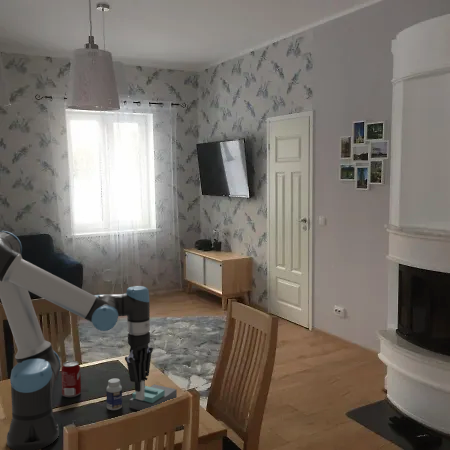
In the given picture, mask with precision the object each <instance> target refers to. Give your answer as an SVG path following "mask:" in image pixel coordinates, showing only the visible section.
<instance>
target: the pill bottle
mask: <svg viewBox="0 0 450 450" xmlns="http://www.w3.org/2000/svg"><path fill="white" fill-rule="evenodd" d="M107 383H108V384H107V386H106V389H105V390H106V408H107V410H111V411H117V410H120V409H121V408H122V407H123V387H122V384H121V380H120V379H119V378H111V379H109V380H108V382H107Z"/></svg>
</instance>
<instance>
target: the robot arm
mask: <svg viewBox="0 0 450 450" xmlns="http://www.w3.org/2000/svg"><path fill="white" fill-rule="evenodd" d="M22 252H23V246H22V242H21V241H20V239H19V237H17V235H16V234H14V233H12V232H10V231H5V230H0V302H1V305H2V307H3V310H4V313H5V316H6V320H7V321H8V322H7V323H8V325H9V328H10V330H11V333H12V336H13V339H14V342H15V345H16V348H17V352H16V354H15V356H14V357H15V361H16V364H15V365H14V366H13V368H12V369H11V372H10V378H9V379H10V380H9V381H10V388H11V390H10V391H11V392H10V393H11V415H12V418H11V421H10V425H9V430H8V432H7V434H6V444H7V447H8V448H9V449H11V450H40V449H44V448H46V446H47V447H48V445H49V446H50V444H51V443H52V444H54V443H55V442H56V441H57V440H58V439H59V437H60V428H59V424H58V422H57V419H56V416H55V415H54V411H53V388H54V386H55V383H56V380H57V379H58V377H59V375H60V371H61V359H60V356H59V355H58V353H57V352H56V351H55V350H54V348H53V347H52V343H51V342H50V341H47V340H46V339H45V338H44V334H43V331H42V329H41V325H40V322H39V320H38V316H37V313H36V311H35V308H34V305H33V301H32V299H31V296H30V293H32V294H33V295H36V296H38V297H40V298H42V299H44V300H46V301H48V302H49V303H52V304H54V305H56V306H58V307H60V308H62V309H64V310H66V311H68V312H70V313H72V314H74V315H77V316H78V317H80V318H82V319H84V320H85V321H86V320H87V321H88V322H90V323H92V325H93V327H94V328H95V329H96V330H98V331H101V332H106V331H107V332H108V331H110V330H112V329H113V328H114V327H115V326H116V324H117V322H118V319H119V317H127V320H126V321H127V323H126V324H127V330H126V331H127V343H128V346H129V354H128V356H125V357H124V361H125V362H126V366H127V370H128V371H127V372H128V375H129V376H128V377H129V381H130V382H132V383H134V392H136V399H138V400H144V399H145V390H144V388H145V386H146V381H147V380H148V379H149V378H148V377H149V376H150V368H151V359H152V353H153V349H154V348H153V346H152V347H151V346H150V345H149V344H150V342H151V333H150V330H151V327H150V323H151V322H150V321H151V320H150V316H151V315H150V314H151V313H150V312H151V311H150V305H151V304H150V291H149V288H148V287H146V286H143V285H134V286H130V287H129V286H128V288H127V289H126V292H125V293H110V294H107V293H106V294H103V293H100V294H92V293H90V292H88V291H87V290H84V289H82V288H80V287H78V286H76V285H74V284H73V283H70V282H68V281H67V280H64V279H63V278H61V277H59V276H57V275H55V274H52V273H51V272H49V271H47V270H45V269H43V268H41V267H39V266H37V265H36V264H33V263H31V262H30V261H28V260H25V259H23V256H22ZM58 436H59V437H58ZM57 438H58V439H57ZM56 439H57V440H56ZM55 440H56V441H55ZM54 441H55V442H54ZM53 442H54V443H53ZM52 444H51V445H52Z"/></svg>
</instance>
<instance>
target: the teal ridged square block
mask: <svg viewBox="0 0 450 450" xmlns="http://www.w3.org/2000/svg"><path fill="white" fill-rule="evenodd" d="M144 390H145V399H144V400H141V401H145V402H149V403H153V402H155V401H156V400H158V399H159V398H161V397H162V396H164V395H165V390H162V389H157V388H153V387H151V386H148V385H145V388H144ZM131 395H132V397H131V398H133V399H136V391H134V392H132V394H131ZM137 400H138V399H137Z"/></svg>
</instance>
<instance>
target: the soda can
mask: <svg viewBox="0 0 450 450" xmlns="http://www.w3.org/2000/svg"><path fill="white" fill-rule="evenodd" d="M62 365H63V366H62V367H61V368H60V371H61V396H63V397H65V398H75V397H77V396H79V395H80V394H81V393H82V383H81V382H82V379H81V378H82V376H81V372H82V371H81V365H79V361H76V360H68V361H65V362H63V363H62Z"/></svg>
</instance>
